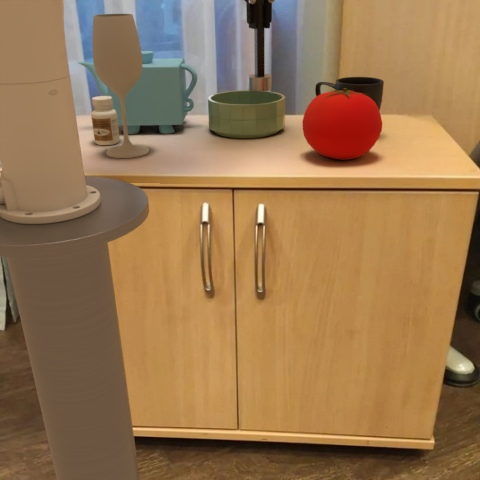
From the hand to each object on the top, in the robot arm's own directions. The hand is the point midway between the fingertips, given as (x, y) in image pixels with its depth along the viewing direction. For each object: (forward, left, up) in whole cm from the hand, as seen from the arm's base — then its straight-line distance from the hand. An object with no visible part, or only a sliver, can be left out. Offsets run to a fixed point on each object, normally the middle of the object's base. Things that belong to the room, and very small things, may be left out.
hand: (259, 27), depth 106 cm
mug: (+12, -11, -18) cm, 24 cm away
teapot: (-20, +10, -18) cm, 29 cm away
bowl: (-3, 0, -18) cm, 18 cm away
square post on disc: (0, 0, -11) cm, 11 cm away
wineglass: (-27, -6, -18) cm, 33 cm away
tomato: (+4, -23, -18) cm, 29 cm away
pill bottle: (-29, +2, -18) cm, 34 cm away
